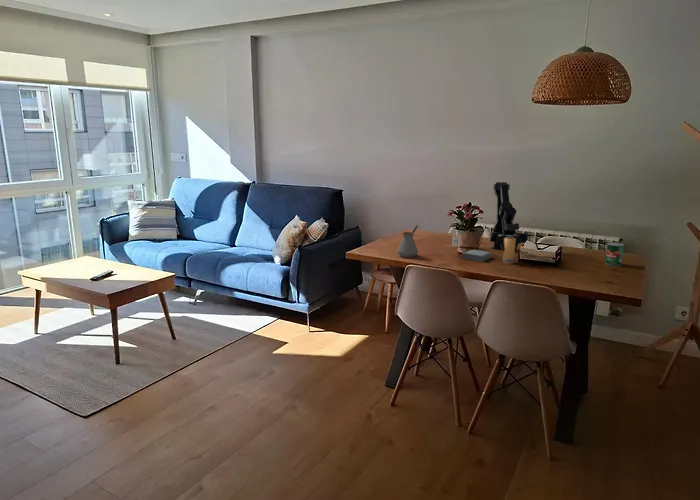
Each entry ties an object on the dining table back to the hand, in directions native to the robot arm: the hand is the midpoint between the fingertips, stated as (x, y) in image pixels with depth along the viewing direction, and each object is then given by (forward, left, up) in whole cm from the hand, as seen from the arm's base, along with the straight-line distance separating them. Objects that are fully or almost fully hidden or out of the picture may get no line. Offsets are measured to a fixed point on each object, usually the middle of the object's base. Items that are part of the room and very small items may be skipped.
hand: (509, 250), depth 261 cm
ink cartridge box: (-19, -38, -7) cm, 43 cm away
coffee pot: (+16, -51, -7) cm, 54 cm away
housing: (-1, -1, -7) cm, 7 cm away
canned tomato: (-32, +43, -7) cm, 54 cm away
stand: (+1, -18, -7) cm, 19 cm away
